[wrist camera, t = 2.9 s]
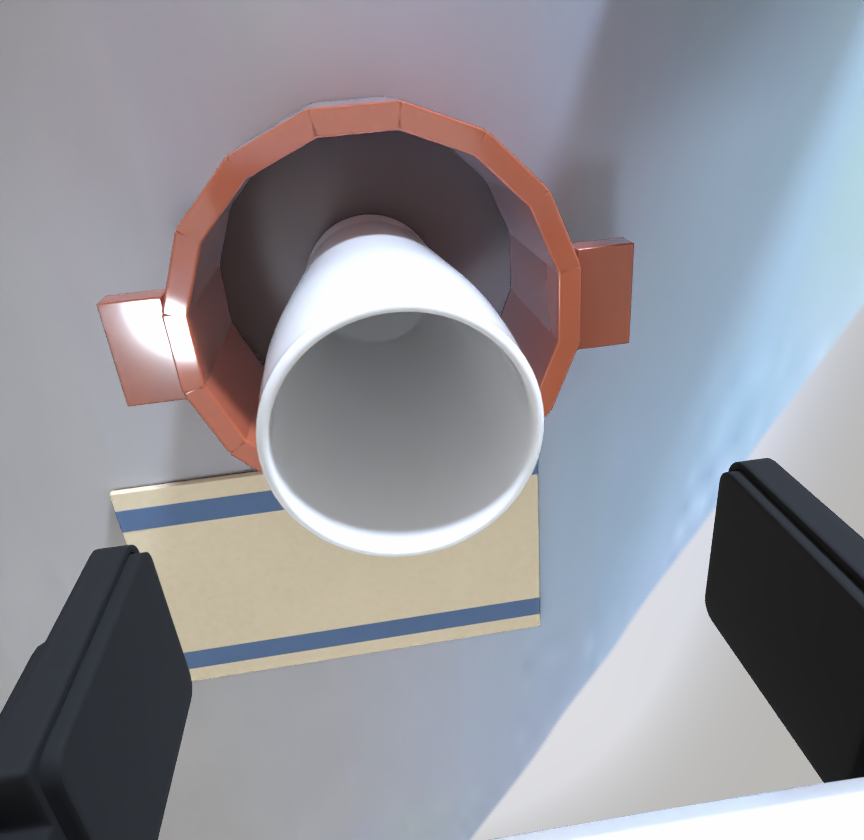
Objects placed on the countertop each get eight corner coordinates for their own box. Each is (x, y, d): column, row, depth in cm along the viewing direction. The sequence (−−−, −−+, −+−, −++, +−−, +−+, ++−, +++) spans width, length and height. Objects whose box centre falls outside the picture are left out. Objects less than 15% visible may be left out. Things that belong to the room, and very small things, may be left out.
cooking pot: (195, 446, 31) (162, 536, 25) (108, 121, 25) (35, 134, 19) (571, 396, 33) (628, 470, 27) (575, 78, 27) (650, 76, 20)
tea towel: (176, 678, 37) (174, 684, 37) (111, 490, 32) (109, 495, 31) (538, 621, 39) (540, 626, 38) (535, 433, 33) (537, 436, 33)
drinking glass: (258, 235, 28) (190, 376, 14) (412, 164, 27) (491, 241, 14) (332, 376, 31) (335, 602, 17) (472, 314, 30) (584, 496, 17)
